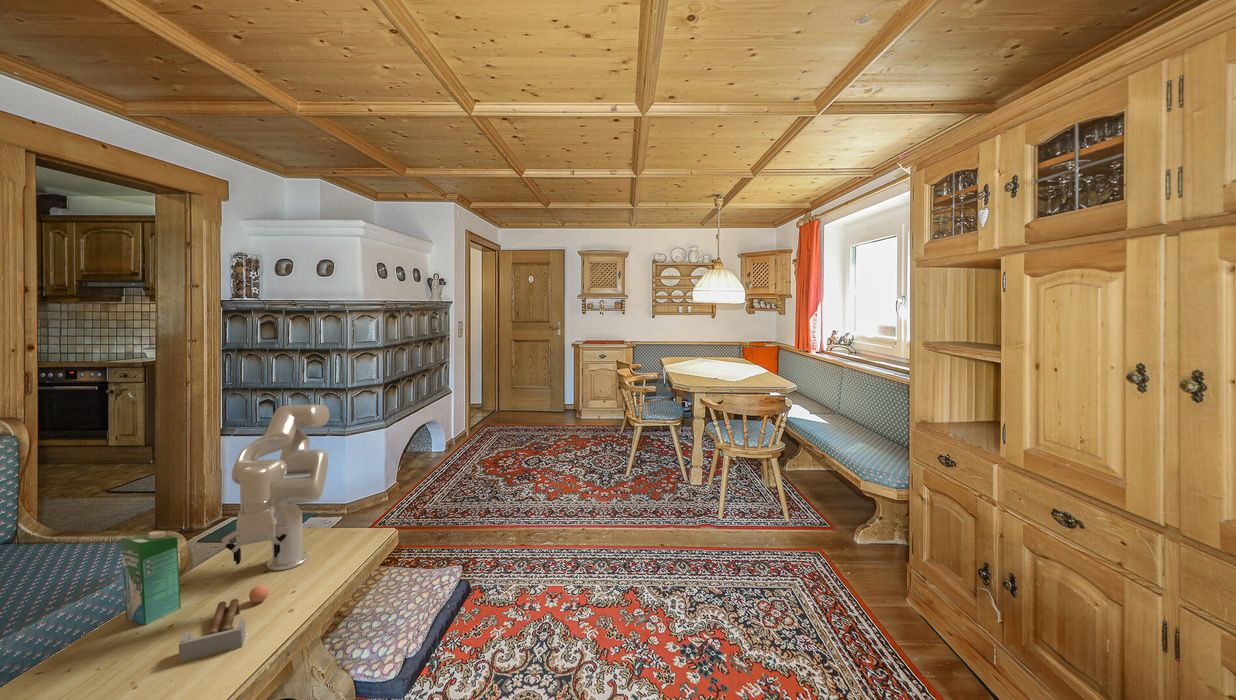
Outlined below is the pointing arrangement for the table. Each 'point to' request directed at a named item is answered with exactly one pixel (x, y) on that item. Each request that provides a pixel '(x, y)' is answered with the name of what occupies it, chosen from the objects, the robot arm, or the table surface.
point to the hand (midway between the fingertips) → (257, 558)
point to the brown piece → (224, 612)
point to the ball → (258, 593)
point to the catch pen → (211, 643)
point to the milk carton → (150, 576)
